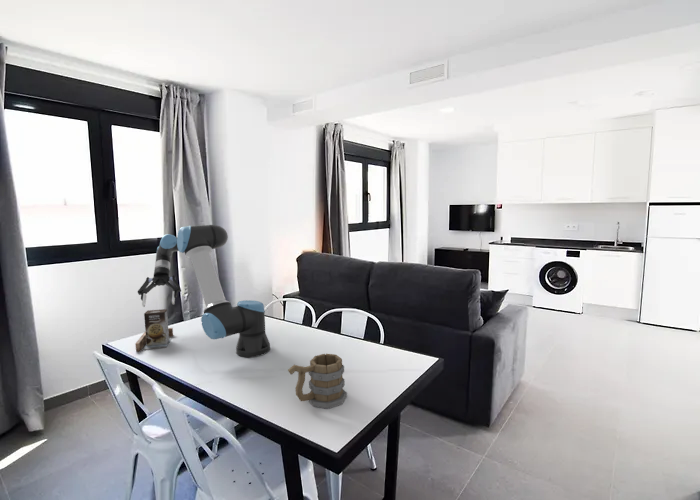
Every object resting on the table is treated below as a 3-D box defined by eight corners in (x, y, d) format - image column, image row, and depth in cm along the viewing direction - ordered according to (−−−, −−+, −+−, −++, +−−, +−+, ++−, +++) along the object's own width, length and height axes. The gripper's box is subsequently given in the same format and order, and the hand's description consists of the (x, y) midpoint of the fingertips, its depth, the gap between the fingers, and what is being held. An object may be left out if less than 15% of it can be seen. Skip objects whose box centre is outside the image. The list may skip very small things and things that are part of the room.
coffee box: (146, 346, 176) (143, 313, 174) (149, 341, 182) (146, 310, 180) (167, 344, 178) (164, 312, 176) (169, 339, 184) (167, 308, 182)
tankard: (335, 385, 135) (334, 346, 133) (352, 401, 124) (351, 359, 122) (283, 400, 126) (281, 358, 124) (296, 419, 115) (294, 373, 113)
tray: (165, 348, 174) (164, 340, 173) (136, 351, 170) (135, 343, 170) (173, 335, 191) (172, 327, 191) (146, 337, 188) (145, 330, 188)
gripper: (188, 272, 205) (186, 305, 192) (138, 275, 198) (132, 310, 186) (185, 264, 199) (183, 298, 187) (134, 267, 192) (128, 302, 180)
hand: (158, 304), depth 186 cm, fingers open, 13 cm apart
